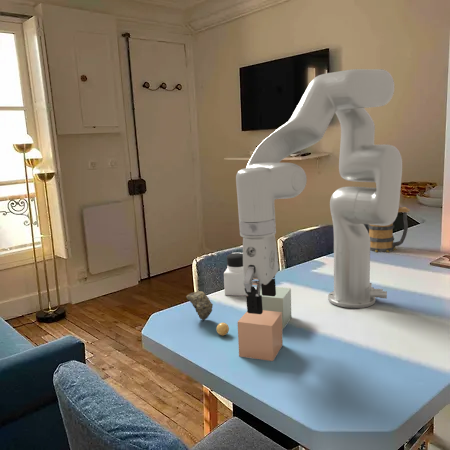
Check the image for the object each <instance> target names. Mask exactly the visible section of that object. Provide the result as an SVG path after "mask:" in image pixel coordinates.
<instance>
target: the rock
mask: <svg viewBox="0 0 450 450" xmlns="http://www.w3.org/2000/svg"><path fill="white" fill-rule="evenodd" d="M185 297H186V299H187V300H188V301H189V302H190V303H191V305H192V306H193V308H194V309H195V312H196V314H197V316H198V318H199V319H200V320H202V321H206V320H207V319H208V318H209V316H210V315H211V313H212V312H213V307H214V306H213V305H214V304H213V303H212V302H211V300H210V298H209V297H208V295H206V293H205V292H204V291H200V290H197V291H195V292H190V293H188V294H187V295H186V296H185Z"/></svg>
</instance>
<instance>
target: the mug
mask: <svg viewBox="0 0 450 450" xmlns="http://www.w3.org/2000/svg"><path fill="white" fill-rule="evenodd" d="M409 212H411V209H410V208H408V207H406V206H402V207H400V206H399V209H398V213H402V220H403V232H402V235H401V238H400V240H398V241H395V237H394V234H393V229H394V228H395V224H394V222H393V223H392V224H390V225H387V226H379V225H369V224H367V227H366V228H367V229H368V233H369V236H370V252H376V253H390V252H393V251H397V250H398V249H396V247H398V246H401V245H402V244H403V243H404V241H405V239H406V237H407V234H408V230H409V227H408V226H409V225H408V224H409V223H408V213H409ZM394 241H395V242H394Z"/></svg>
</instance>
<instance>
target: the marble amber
mask: <svg viewBox="0 0 450 450" xmlns="http://www.w3.org/2000/svg"><path fill="white" fill-rule="evenodd" d="M229 331H230V327H229V325H228V324H227V323H225V322H220V323H218V324H217V326H216V332H217V334H218V335H219V336H225V335H227V334H229Z"/></svg>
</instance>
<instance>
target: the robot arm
mask: <svg viewBox="0 0 450 450" xmlns="http://www.w3.org/2000/svg"><path fill="white" fill-rule="evenodd" d="M393 78H394V77H393V76H392V74H391V73H390V72H389V71H387V70H386V69H383V68H382V69H380V68H379V69H378V68H376V69H375V68H374V69H366V68H365V69H364V68H361V69H359V68H358V69H357V68H356V69H355V68H354V69H347V70H346V69H345V70H340V71H334V72H326V73H322V74H319V75H317V76H315V77H314V78H313V79H312V80H311V81H310V82H309V83H308V85H307V87H306V89H305V91H304V93H303V94H302V96H301V98H300V100H299V102H298V104H297V105H296V107H295V109H294V111H293V112H292V115H291V116H290V118H289V119H288V121H286V122H285V123H284V124H282V125H281V126H279V127H278V128H277V129H275V131H273V132H272V133H271V134H270V135H269V136H268V135H267V137H266V138H265V139H263V140H262V141H261V143H260V144H259V145H258V146H257V147H256V148H255V150H254V151H253V154H252V155H251V157H250V159H249V160H248V162H247V164H246V167H245V168H241V169H239V170H238V171H237V173H236V175H235V184H236V186H235V187H236V194H237V195H236V197H237V198H236V199H237V209H238V210H237V212H238V224H239V225H238V226H239V236H240V237H242V253H243V272H244V286H245V292H246V293H245V294H246V296H245V297H246V310H247V311H246V312H248V313H252V314H262V313H263V307H262V295H263V296H275V295H276V287H277V286H276V275H277V273H278V272H279V260H278V249H277V242H276V241H277V240H276V237H275V236H276V234H277V228H276V209H275V208H276V207H275V200H279V199H284V200H285V199H286V200H287V199H293V198H296V197H297V196H299V195H300V194H301V193H302V192H303V191H304V190H305V188H306V186H307V179H308V178H307V174H306V172H305V170H304V169H303V167H301V166H300V165H299V164H296V163H292V162H282V161H283V160H284V159H286V158H287V157H289V156H291V155H293V154H295V153H297V152H300V151H303V150H304V149H307V148H310V147H312V146H313V145H315V144H317V143H318V142H320V141H321V140H322V139H323V137H324V135H325V133H326V131H327V129H328V128H329V125H330V123H331V122H332V119H333V117H334V116H336V117H337V120H338V121H339V124H340V145H339V160H338V172H339V175H340V177H341V178H342V179H344V181H349V182H358V183H359V182H360V183H375V185H376V187H366V186H342V187H339V188H337V189H336V190H335V191H334V192H333V193H332V194H331V196H330V200H329V209H330V215H331V219H332V228H333V290H332V291H331V292H330V293H328V296H327V299H328V301H329V302H330V303H331V304H333V305H335V306H338V307H342V308H347V309H363V308H367V307H370V306H372V305H375V304H376V298H380V299H387V298H388V291H386V290H384V288H374V287H373V285H372V282H370V281H371V280H370V278H371V276H370V275H371V251H370V236H369V230H368V228H367V227H366V225H379V226H387V225H390V224H392V223H393V224H394V222H395V221H396V219H397V217H398V214H399V212H398V209H399V207H400V201H401V198H400V196H401V189H402V188H401V187H402V176H403V158H402V155H401V153H400V151H399V149H398V148H397V147H396V146H395V145H392V144H375V136H376V135H375V134H376V133H375V132H376V131H375V130H376V127H375V126H376V125H375V123H374V119H373V118H372V117H371V115H370V114H369V112H368V111H367V110H366V109H367V108H368V109H369V108H377V107H383V106H386V105H388V103H390V102H391V100H392V98H393V96H394V94H395V93H394V92H395V81H394V79H393ZM255 286H256V288H255ZM261 289H262V295H260V291H261Z"/></svg>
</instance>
